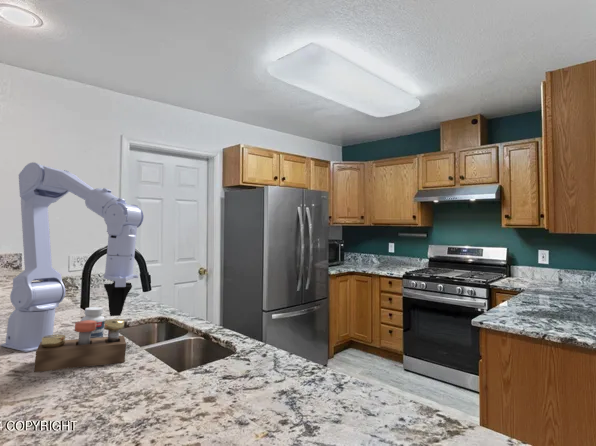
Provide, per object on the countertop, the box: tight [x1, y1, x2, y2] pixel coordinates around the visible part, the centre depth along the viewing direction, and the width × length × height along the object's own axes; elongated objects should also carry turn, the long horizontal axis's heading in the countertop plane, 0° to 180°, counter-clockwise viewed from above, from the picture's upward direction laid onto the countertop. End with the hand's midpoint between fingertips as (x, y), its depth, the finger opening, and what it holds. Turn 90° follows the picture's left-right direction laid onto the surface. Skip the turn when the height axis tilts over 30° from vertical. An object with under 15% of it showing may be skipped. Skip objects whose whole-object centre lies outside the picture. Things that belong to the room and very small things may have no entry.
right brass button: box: [104, 318, 125, 343], centre depth 77 cm, size 4×4×5 cm
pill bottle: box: [80, 306, 106, 338], centre depth 87 cm, size 5×5×9 cm
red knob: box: [74, 320, 97, 345], centre depth 75 cm, size 4×4×5 cm
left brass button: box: [41, 334, 66, 348], centre depth 72 cm, size 4×4×5 cm
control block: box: [33, 335, 127, 373], centre depth 74 cm, size 16×7×4 cm, turn 121°
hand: (115, 315), depth 78 cm, fingers closed
